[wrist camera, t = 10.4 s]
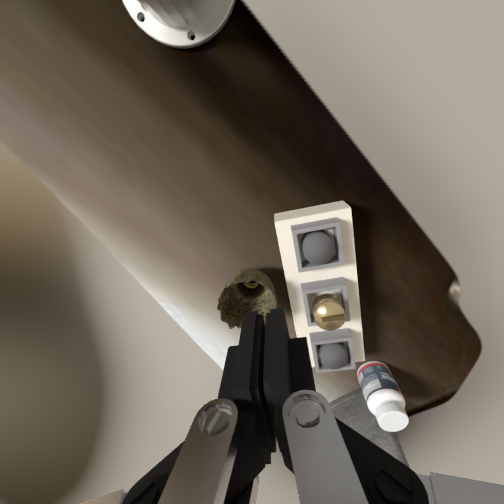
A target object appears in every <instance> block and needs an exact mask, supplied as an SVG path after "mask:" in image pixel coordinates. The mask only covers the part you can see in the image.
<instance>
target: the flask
mask: <svg viewBox="0 0 504 504" xmlns="http://www.w3.org/2000/svg"><path fill="white" fill-rule="evenodd" d="M329 404H330V407H331V409H332V412H333V415H334V417H336V418H337V419H339V420H340V421H342V422H343V423H345V424H346V425H348V426H349V427H351V428H352V429H354V430H355V431H356V432H358V433H359V434H361V435H362V436H364V437H365V438H367V439H368V440H370V441H371V442H373V443H374V444H376V445H377V446H379V447H380V448H381V449H383V450H384V451H386V452H387V453H389V454H390V455H392V456H393V457H395V458H396V459H398V460H399V461H401V462H402V463H404V464H405V465H406V466H408V467H409V465H408V463H407V460H406V458H405V456H404V453H403V451H402V448H401V446H400V443H399V441H398V439H397V436H396V434H395V432H389V431H385V430H383V429H382V428H381V427H380V426H379V424H378V421H377V419H376V416H375V415H374V414H372V413H371V411H370V410H369V408H368V406H367V403H366V400H365V397H364V395H363V392H362V389H358V390H355V391H353V392H351V393H348V394H346V395H344V396H342V397H340V398H338V399H336V400H334V401H332V402H331V403H329ZM409 468H410V467H409Z"/></svg>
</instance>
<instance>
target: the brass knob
mask: <svg viewBox="0 0 504 504" xmlns="http://www.w3.org/2000/svg"><path fill="white" fill-rule="evenodd" d="M312 309H313V314H314V318H315V322H316V324H317V325H318V327H320V328H321V329H323V330H328V331H332V330H336V329H338V328H340V327H341V326H342V325H343V324H344V323H345V320H346V314H345V311H344V309H343V307H342V304H341V302H340V300H339V298H338V297H337V296H335V295H333V294H322V295H319V296H318V297H316V298H315V299H314V301H313V303H312Z"/></svg>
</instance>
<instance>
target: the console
mask: <svg viewBox="0 0 504 504" xmlns="http://www.w3.org/2000/svg"><path fill="white" fill-rule="evenodd" d="M274 219H275V227H276V232H277V237H278V242H279V248H280V253H281V258H282V263H283V268H284V273H285V279H286V284H287V289H288V294H289V299H290V304H291V310H292V315H293V320H294V325H295V330H296V335H297V338H300V337H306V338H307V343H308V349H309V354H310V360H311V366H312V367H315V369H316V373H321V372H330V371H340V370H349V369H356V368H355V362H361V361H365V356H364V345H363V334H362V323H361V312H360V301H359V289H358V278H357V267H356V256H355V245H354V234H353V223H352V212H351V207H350V206H349V205H348V204H346V203H345V202H344V201H338V202H333V203H328V204H323V205H318V206H313V207H307V208H302V209H297V210H292V211H287V212H282V213H276V214H274ZM321 229H323V230H325V231H326V232H327V233H328V234H329V235H330V237H331V239H332V240H333V242H334V244H335V254H334V256H333V257H332V259H331V260H330V261H328V262H326V263H324V264H313V263H310V262H309V261H308V260H307V259H306V258H305V256H304V253H303V250H302V246H301V240H302V237H303V235H304V234H305V233H306V232H310V231H316V230H321ZM322 294H333V295H335V296H337V297H338V298H339V300H340V302H341V304H342V307H343V309H344V311H345V314H346V320H345V323H344V324H343V325H342V326H341V327H340V328H338V329H336V330H332V331H328V330H323V329H321V328H320V327H318V325H317V324H316V322H315V318H314V314H313V309H312V303H313V301H314V299H315V298H316V297H318V296H319V295H322ZM335 342H343V343H344V346H345V349H346V352H347V355H348V362H347V364H346V365H345V366H344V367H342V368H340V369H328V368H326V367H325V366H323V364H322V363H321V359H320V354H319V349H318V345H319V344H327V343H335Z"/></svg>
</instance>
